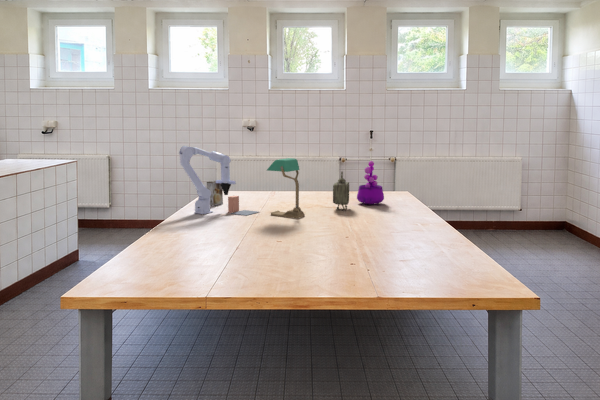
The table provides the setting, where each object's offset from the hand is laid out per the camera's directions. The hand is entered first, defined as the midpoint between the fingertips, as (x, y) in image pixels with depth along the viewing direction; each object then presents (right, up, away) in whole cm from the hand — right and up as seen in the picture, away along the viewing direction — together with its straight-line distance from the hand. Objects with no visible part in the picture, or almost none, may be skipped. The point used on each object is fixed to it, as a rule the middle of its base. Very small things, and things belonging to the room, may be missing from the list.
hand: (226, 194), depth 364 cm
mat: (+13, -12, -6) cm, 18 cm away
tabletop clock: (+74, -10, +10) cm, 76 cm away
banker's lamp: (+39, -13, -15) cm, 44 cm away
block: (+5, -11, -2) cm, 12 cm away
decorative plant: (+96, -6, +31) cm, 102 cm away
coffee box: (-11, -7, +26) cm, 29 cm away
